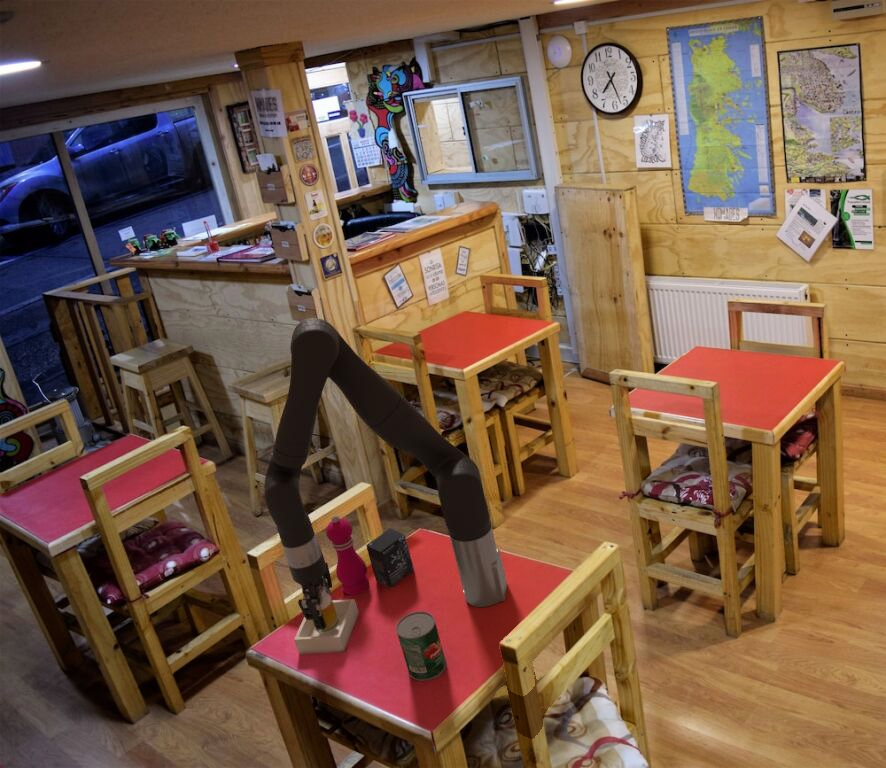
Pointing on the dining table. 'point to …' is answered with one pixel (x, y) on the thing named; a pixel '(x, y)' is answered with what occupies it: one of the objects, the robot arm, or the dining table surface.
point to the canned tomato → (421, 645)
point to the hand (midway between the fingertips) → (325, 618)
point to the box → (390, 557)
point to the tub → (332, 641)
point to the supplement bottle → (327, 613)
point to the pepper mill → (347, 557)
